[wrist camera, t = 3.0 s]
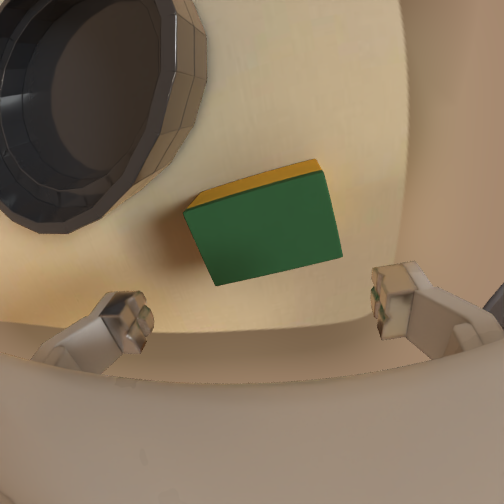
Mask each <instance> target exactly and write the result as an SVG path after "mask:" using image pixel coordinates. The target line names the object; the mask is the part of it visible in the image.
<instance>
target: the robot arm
mask: <svg viewBox="0 0 504 504" xmlns="http://www.w3.org/2000/svg"><path fill="white" fill-rule="evenodd" d="M371 279H372V282H373V284H374V286H373V288H372V289H371V308H372V312H373V315H374V317H375V318H376V319H378V322H377V328H378V330H379V334H380V337H381V340H387V339H394V338H401V337H406V338H407V339H408V340H409V341H410V342H412V343H413V344H414V345H415V346H416V347H417V348H419V349H420V350H421V351H422V352H423V353H425V354H426V355H427V356H428V357H429V358H430V359H432V360H429V361H426V362H421V363H416V364H412V365H408V366H402V367H397V368H393V369H387V370H382V371H376V372H370V373H364V374H357V375H350V376H343V377H335V378H326V379H316V380H305V381H291V382H276V383H275V382H274V383H246V384H210V383H181V382H165V381H152V380H142V379H131V378H123V377H115V376H108V375H101V374H102V373H103V372H104V371H105V370H106V369H107V368H108V367H109V366H110V365H112V363H114V362H115V361H116V360H117V359H118V358H119V357H120V356H121V355H122V353H128V354H141V352H142V350H143V348H144V346H145V344H146V342H147V341H146V338H145V337H147V336H148V335H149V334H151V332H152V330H153V328H154V317H153V314H152V311H151V309H150V308H148V307H147V306H146V305H145V303H146V298H145V296H144V294H143V293H142V292H140V291H120V292H108V293H106V294H105V295H104V297H103V298H102V299H101V300H100V302H99V303H98V304H97V305H96V307H95V308H94V309H93V311H92V312H91V313H90V314H89V316H85V317H84V318H82V319H80V320H79V321H77V322H76V323H74V324H72V325H71V326H69V327H68V328H66V329H64V330H63V331H61V332H60V333H58V334H56V335H55V336H53V337H52V338H50V339H49V340H47V341H45V342H44V343H43V344H42V345H41V346H40V348H39V349H38V350H37V352H36V353H35V355H34V356H33V357H32V358H31V360H27V359H23V358H20V357H16V356H12V355H9V354H6V353H2V352H0V504H504V331H503V329H502V327H501V326H500V324H499V323H498V321H497V320H496V318H495V317H494V316H493V314H491V313H489V312H487V311H485V310H483V309H481V308H479V307H477V306H475V305H473V304H471V303H469V302H467V301H465V300H463V299H461V298H459V297H457V296H455V295H453V294H451V293H449V292H447V291H445V290H443V289H441V288H439V287H433V286H432V284H431V283H430V281H429V280H428V278H427V277H426V275H425V274H424V272H423V271H422V270H421V268H420V267H419V265H418V264H417V263H416V262H415V261H410V262H404V263H400V264H393V265H387V266H381V267H375V268H372V276H371Z"/></svg>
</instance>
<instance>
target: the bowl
mask: <svg viewBox="0 0 504 504" xmlns="http://www.w3.org/2000/svg"><path fill="white" fill-rule="evenodd" d="M206 83H207V38H206V33H205V31H204V28H203V26H202V23H201V21H200V18H199V16H198V13H197V11H196V8H195V6H194V3H193V2H192V0H4V1H3V3H2V4H1V6H0V210H1V211H2V212H3V213H4V214H5V215H6V216H8V217H9V218H10V219H11V220H12V221H13V222H15V223H17V224H19V225H22V226H24V227H26V228H28V229H30V230H32V231H35V232H37V233H39V234H69V233H71V232H74V231H76V230H78V229H80V228H82V227H84V226H86V225H89V224H91V223H93V222H95V221H97V220H100V219H101V218H103V217H104V216H105V215H107V214H108V213H109V212H111V211H112V210H113V209H115V208H116V207H117V206H119V205H120V204H122V203H123V202H124V201H126V200H127V199H129V198H130V197H131V196H133V195H134V194H136V193H137V192H139V191H140V190H142V189H143V188H144V187H145V186H146V185H147V184H148V183H149V182H150V181H151V180H152V179H153V178H155V177H156V176H157V175H158V174H159V173H160V172H161V171H162V170H163V169H165V168H166V167H167V166H168V165H169V164H170V163H171V162H172V160H173V158H174V157H175V155H176V153H177V152H178V150H179V148H180V147H181V145H182V143H183V142H184V140H185V139H186V137H187V135H188V134H189V132H190V131H191V129H192V128H193V126H194V123H195V120H196V116H197V113H198V109H199V106H200V102H201V99H202V96H203V92H204V89H205V86H206Z"/></svg>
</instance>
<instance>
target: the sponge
mask: <svg viewBox="0 0 504 504" xmlns="http://www.w3.org/2000/svg"><path fill="white" fill-rule="evenodd" d="M183 215H184V217H185V220H186V222H187V224H188V227H189V229H190V231H191V233H192V236H193V238H194V240H195V242H196V245H197V247H198V249H199V251H200V254H201V256H202V258H203V260H204V262H205V265H206V267H207V269H208V271H209V273H210V275H211V278H212V280H213V282H214V284H215V286H219V285H224V284H229V283H233V282H238V281H242V280H247V279H251V278H256V277H260V276H265V275H269V274H274V273H278V272H282V271H287V270H291V269H295V268H299V267H304V266H308V265H312V264H316V263H321V262H325V261H329V260H333V259H337V258H341V257H343V254H342V249H341V244H340V239H339V234H338V230H337V225H336V221H335V216H334V212H333V208H332V203H331V199H330V195H329V191H328V187H327V183H326V179H325V176H324V172H323V171H322V169H321V167H320V165H319V164H318V162H317V160H316V159H312V160H308V161H304V162H300V163H296V164H293V165H289V166H285V167H282V168H278V169H275V170H271V171H268V172H264V173H261V174H257V175H254V176H251V177H247V178H244V179H241V180H237V181H234V182H231V183H228V184H225V185H222V186H218V187H215V188H212V189H209V190H206V191H203V192H201V193H200V194H199V195H198V196H197V197H196V198H195V199H194V201H193V202H192V203H191V204H190V205H189V206H188V207H187V209H186V210H185V211H184V212H183Z"/></svg>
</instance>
